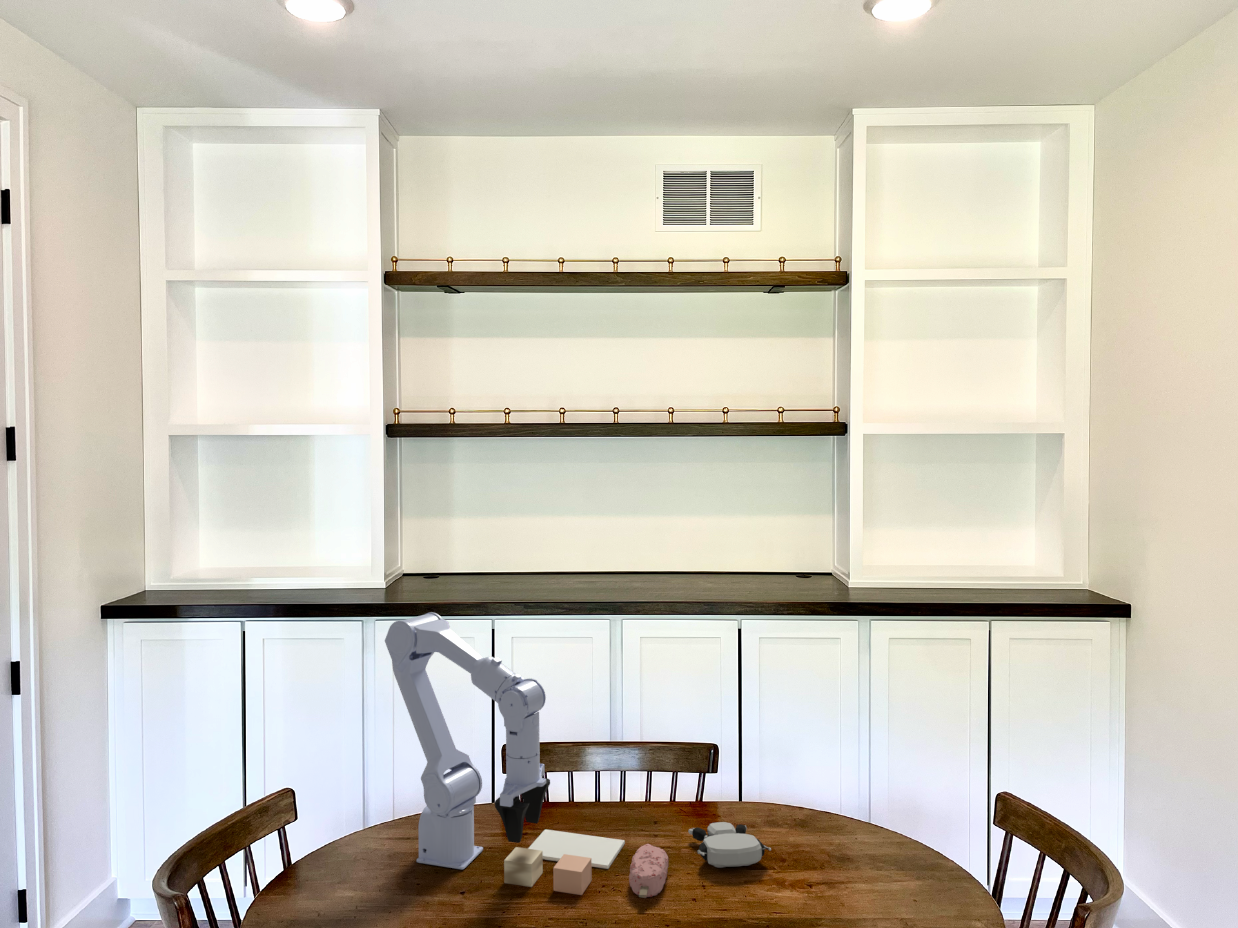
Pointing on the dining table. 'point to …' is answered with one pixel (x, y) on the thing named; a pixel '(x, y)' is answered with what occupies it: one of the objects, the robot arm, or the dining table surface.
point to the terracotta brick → (572, 874)
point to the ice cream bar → (648, 871)
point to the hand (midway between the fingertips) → (523, 831)
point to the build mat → (578, 847)
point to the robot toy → (728, 845)
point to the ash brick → (523, 866)
